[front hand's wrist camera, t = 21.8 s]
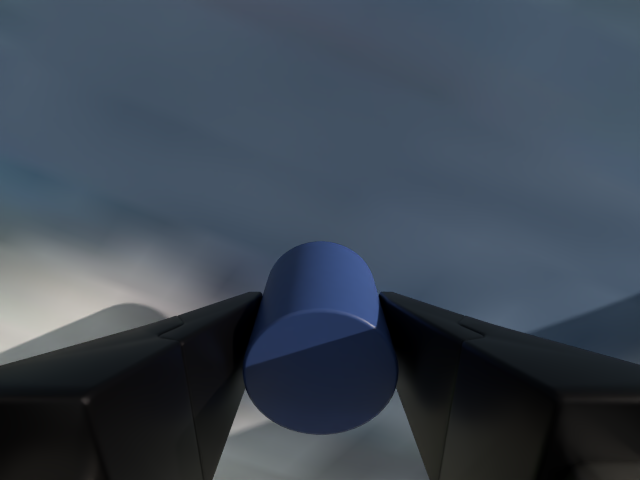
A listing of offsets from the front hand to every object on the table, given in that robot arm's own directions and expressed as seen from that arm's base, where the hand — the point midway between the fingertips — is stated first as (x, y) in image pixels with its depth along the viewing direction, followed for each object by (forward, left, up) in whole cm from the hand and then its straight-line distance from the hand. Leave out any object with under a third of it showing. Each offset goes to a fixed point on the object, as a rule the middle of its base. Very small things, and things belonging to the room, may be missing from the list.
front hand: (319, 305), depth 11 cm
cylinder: (0, 0, -1) cm, 1 cm away
